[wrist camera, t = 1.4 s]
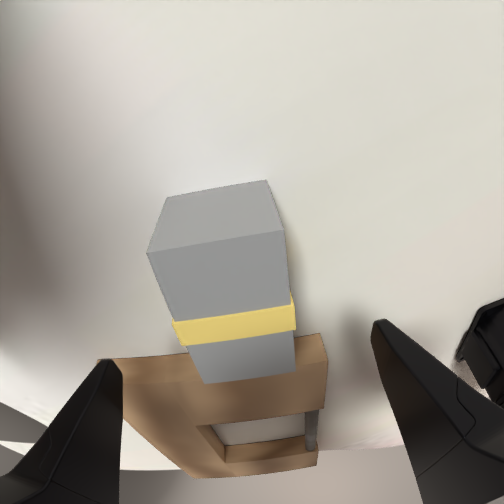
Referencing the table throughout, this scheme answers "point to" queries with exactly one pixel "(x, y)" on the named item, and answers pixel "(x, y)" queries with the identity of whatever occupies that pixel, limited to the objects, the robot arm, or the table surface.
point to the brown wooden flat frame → (224, 411)
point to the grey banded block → (227, 281)
